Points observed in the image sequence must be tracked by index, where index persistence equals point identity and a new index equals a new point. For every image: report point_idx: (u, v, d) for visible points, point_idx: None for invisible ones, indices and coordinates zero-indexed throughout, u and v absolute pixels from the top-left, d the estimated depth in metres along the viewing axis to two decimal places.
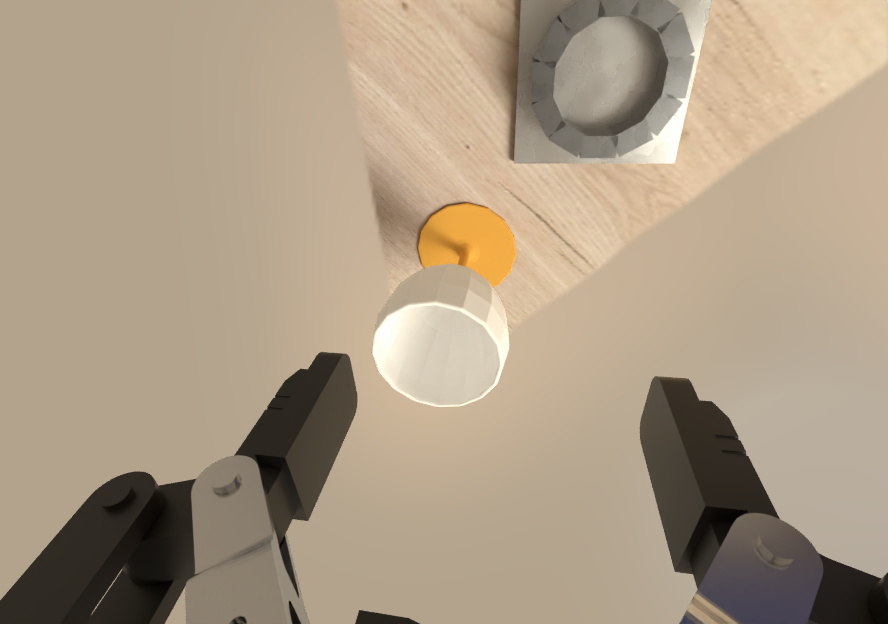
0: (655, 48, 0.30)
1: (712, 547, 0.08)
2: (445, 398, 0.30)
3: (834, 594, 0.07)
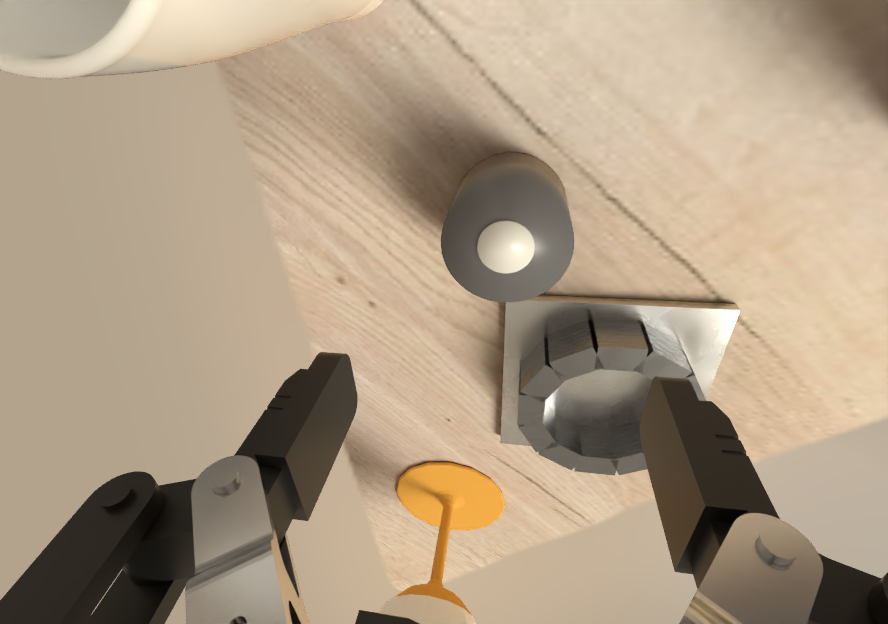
0: None
1: (712, 547, 0.08)
2: None
3: (834, 594, 0.07)
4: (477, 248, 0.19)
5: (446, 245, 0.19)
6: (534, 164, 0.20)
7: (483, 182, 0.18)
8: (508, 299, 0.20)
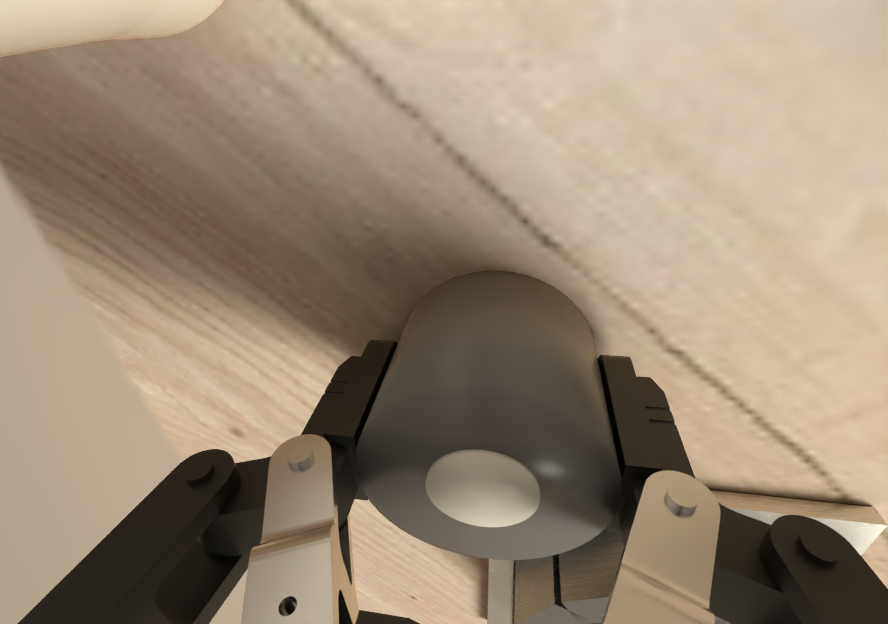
0: None
1: (632, 503, 0.09)
2: None
3: (732, 539, 0.08)
4: (425, 487, 0.10)
5: (366, 474, 0.10)
6: (539, 308, 0.10)
7: (432, 376, 0.09)
8: (489, 555, 0.11)
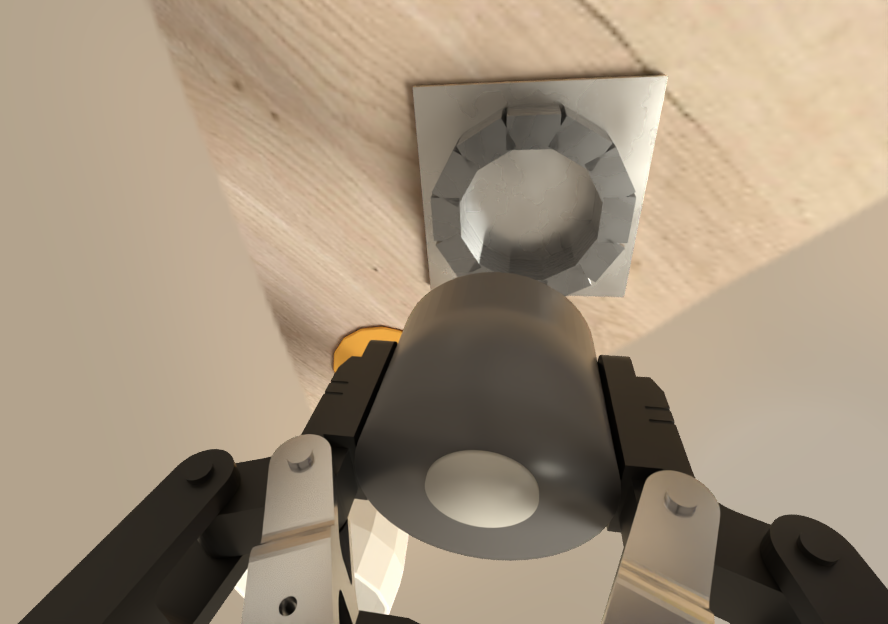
0: None
1: (632, 503, 0.09)
2: None
3: (732, 539, 0.08)
4: (424, 488, 0.10)
5: (366, 474, 0.10)
6: (538, 309, 0.10)
7: (432, 377, 0.09)
8: (489, 555, 0.11)
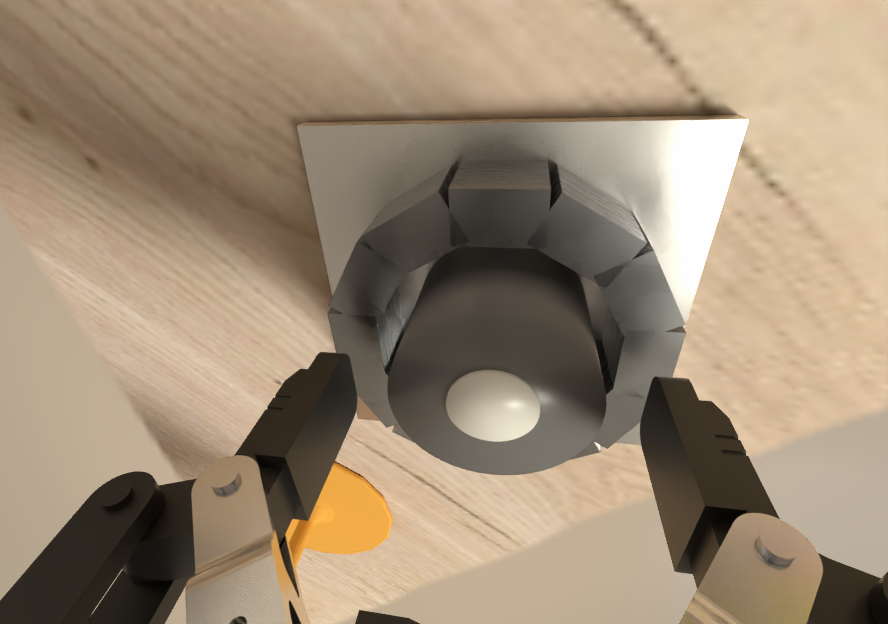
0: None
1: (712, 547, 0.08)
2: None
3: (834, 593, 0.07)
4: (445, 406, 0.12)
5: (396, 397, 0.12)
6: (538, 262, 0.12)
7: (453, 309, 0.11)
8: (497, 471, 0.13)
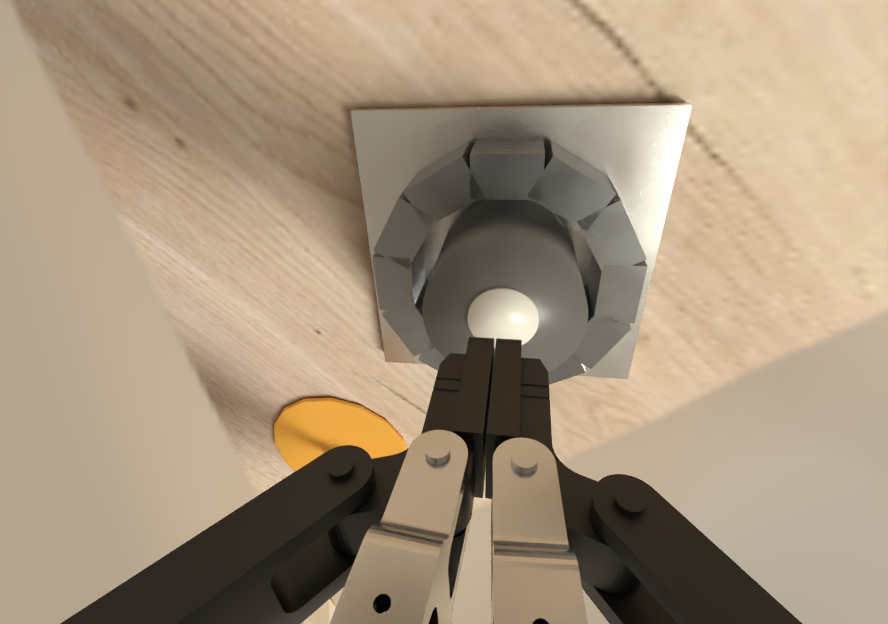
0: None
1: None
2: None
3: (568, 498, 0.08)
4: (467, 321, 0.15)
5: (429, 317, 0.16)
6: (534, 213, 0.16)
7: (471, 242, 0.14)
8: None
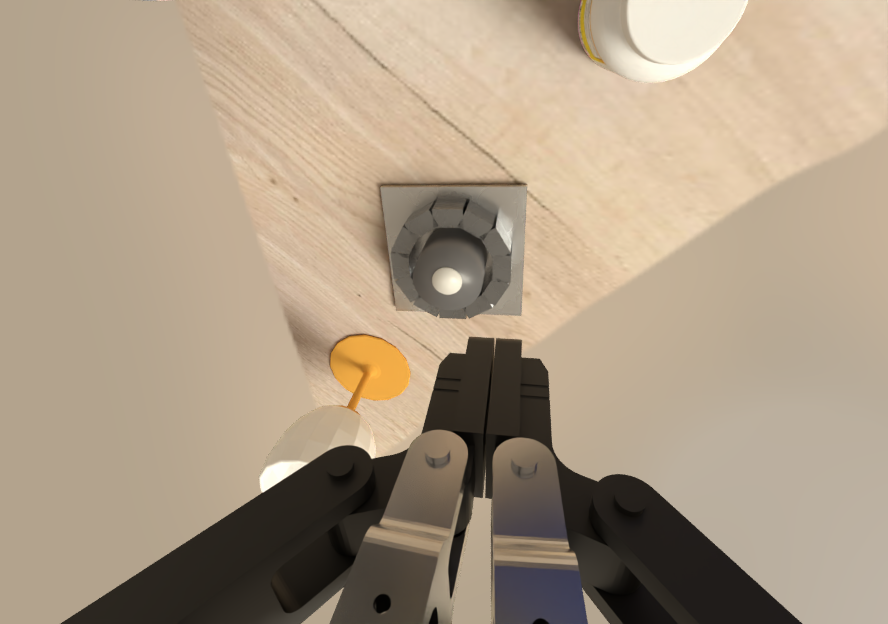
0: None
1: None
2: None
3: (567, 498, 0.08)
4: (432, 282, 0.35)
5: (416, 281, 0.36)
6: (461, 233, 0.36)
7: (431, 248, 0.34)
8: (453, 308, 0.37)
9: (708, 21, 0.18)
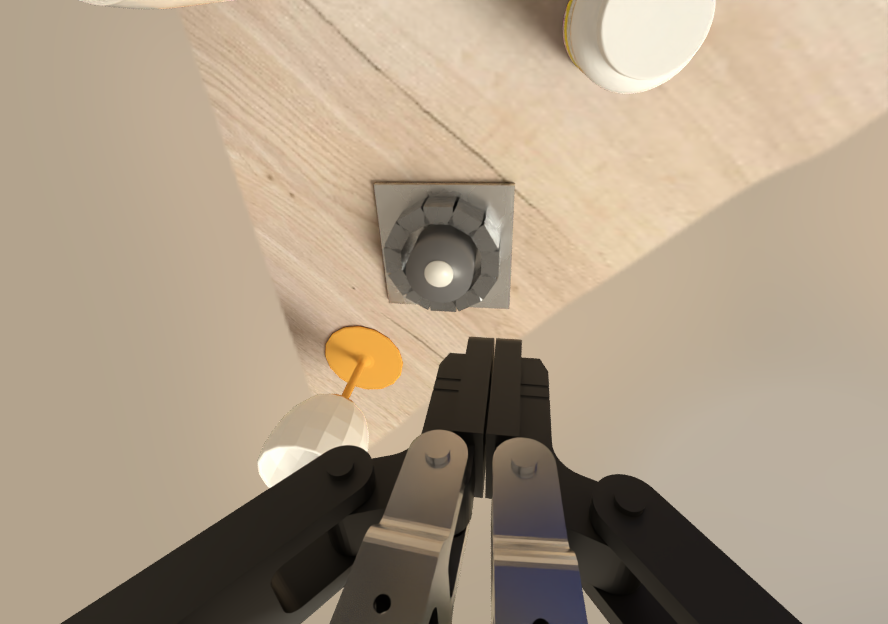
0: None
1: None
2: None
3: (568, 498, 0.08)
4: (424, 276, 0.37)
5: (409, 276, 0.37)
6: (450, 228, 0.38)
7: (421, 243, 0.36)
8: (446, 300, 0.38)
9: (676, 42, 0.20)
